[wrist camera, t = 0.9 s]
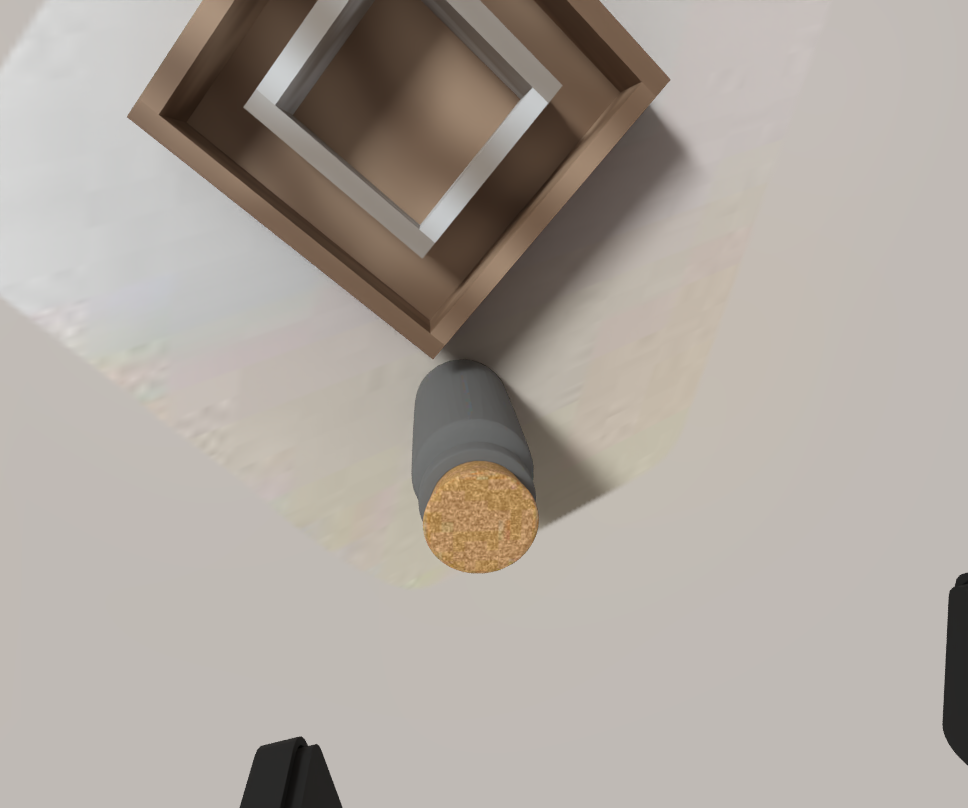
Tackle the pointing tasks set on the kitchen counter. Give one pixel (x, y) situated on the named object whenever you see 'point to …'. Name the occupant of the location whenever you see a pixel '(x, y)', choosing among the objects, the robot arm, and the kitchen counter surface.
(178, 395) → the kitchen counter surface
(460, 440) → the bottle
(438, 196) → the walled box
